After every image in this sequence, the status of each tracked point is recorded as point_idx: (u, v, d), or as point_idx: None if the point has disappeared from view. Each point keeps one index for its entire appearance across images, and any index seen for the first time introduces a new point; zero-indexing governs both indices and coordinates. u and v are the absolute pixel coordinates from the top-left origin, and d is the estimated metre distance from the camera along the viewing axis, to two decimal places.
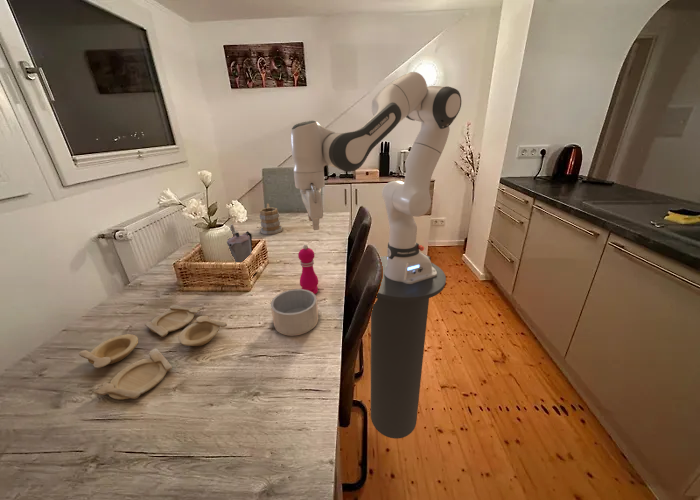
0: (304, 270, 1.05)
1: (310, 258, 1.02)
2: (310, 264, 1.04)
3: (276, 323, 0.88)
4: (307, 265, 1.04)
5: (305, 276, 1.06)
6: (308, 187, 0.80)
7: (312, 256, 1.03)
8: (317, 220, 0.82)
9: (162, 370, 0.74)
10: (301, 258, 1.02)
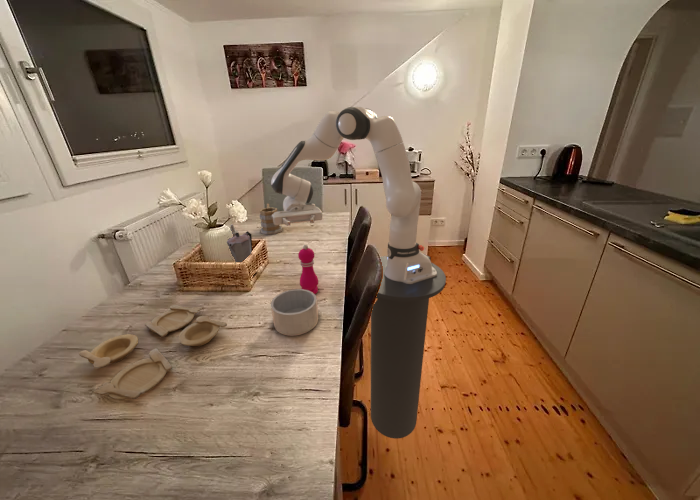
0: (304, 270, 1.05)
1: (310, 258, 1.02)
2: (310, 264, 1.04)
3: (276, 323, 0.88)
4: (307, 265, 1.04)
5: (305, 276, 1.06)
6: None
7: (312, 256, 1.03)
8: (283, 220, 1.11)
9: (162, 370, 0.74)
10: (301, 258, 1.02)
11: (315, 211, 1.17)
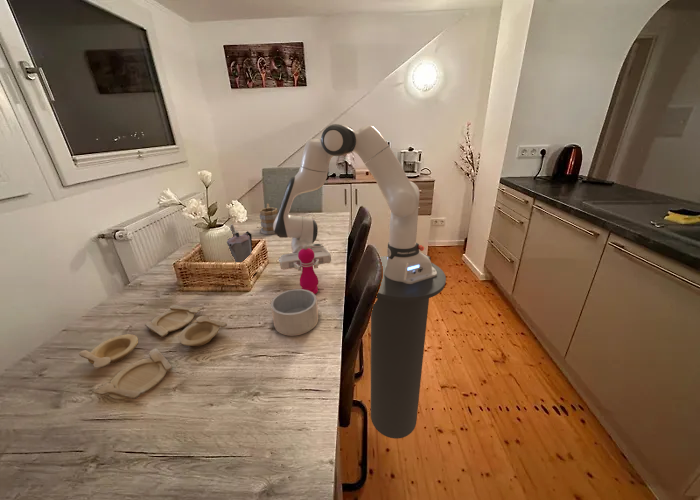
0: (304, 270, 1.05)
1: (310, 258, 1.02)
2: (310, 264, 1.04)
3: (276, 323, 0.88)
4: (307, 265, 1.03)
5: (305, 276, 1.05)
6: None
7: (312, 256, 1.03)
8: (294, 264, 1.07)
9: (162, 370, 0.74)
10: (301, 258, 1.02)
11: (323, 253, 1.12)
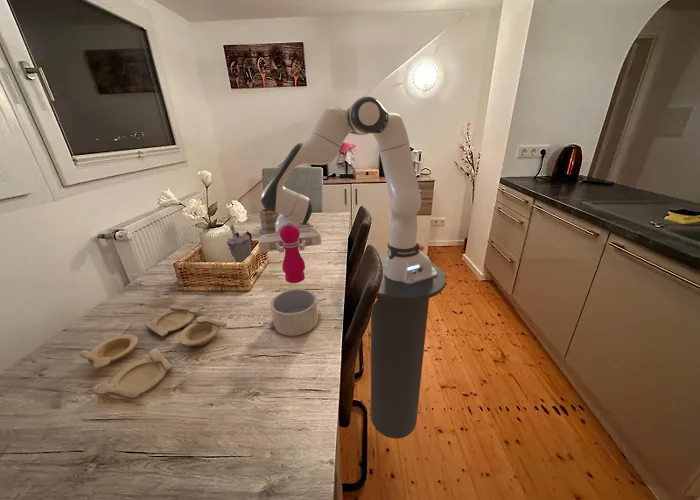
0: (287, 251, 0.87)
1: (294, 237, 0.84)
2: (294, 244, 0.85)
3: (276, 323, 0.88)
4: (290, 246, 0.85)
5: (288, 260, 0.87)
6: None
7: (296, 234, 0.84)
8: (275, 245, 0.89)
9: (162, 370, 0.74)
10: (283, 237, 0.84)
11: (312, 233, 0.94)
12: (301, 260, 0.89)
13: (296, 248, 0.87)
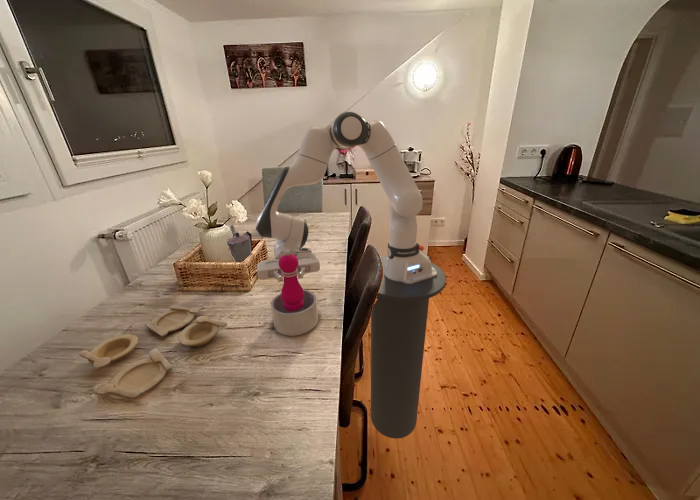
0: (285, 280, 0.86)
1: (293, 267, 0.83)
2: (293, 274, 0.85)
3: (276, 323, 0.88)
4: (289, 275, 0.84)
5: (287, 289, 0.86)
6: None
7: (295, 264, 0.84)
8: (274, 274, 0.88)
9: (162, 370, 0.74)
10: (282, 267, 0.83)
11: (311, 260, 0.93)
12: (300, 288, 0.88)
13: (295, 277, 0.86)
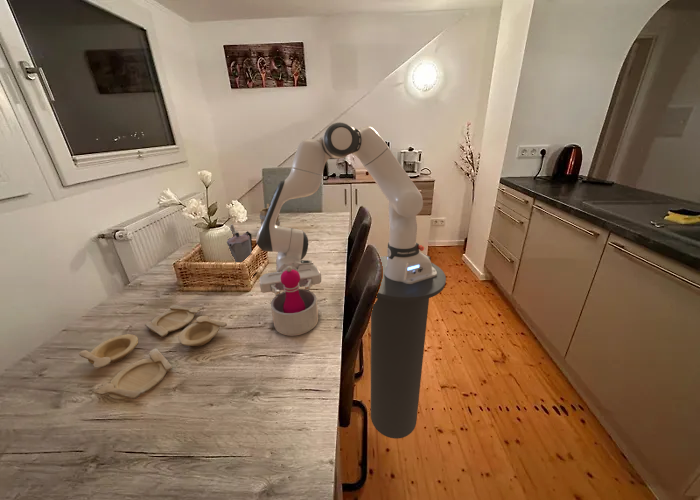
0: (287, 295, 0.88)
1: (294, 282, 0.86)
2: (295, 289, 0.87)
3: (276, 323, 0.88)
4: (291, 290, 0.87)
5: (289, 303, 0.89)
6: None
7: (297, 280, 0.86)
8: (271, 288, 0.90)
9: (162, 370, 0.74)
10: (284, 282, 0.85)
11: (312, 273, 0.95)
12: (301, 302, 0.91)
13: (296, 292, 0.89)
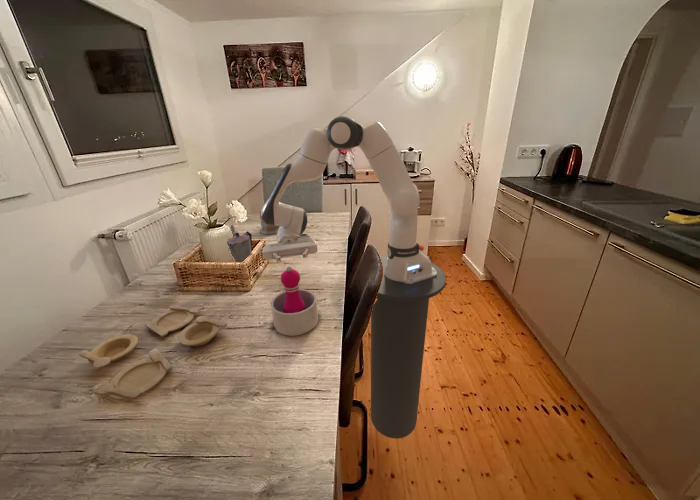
0: (287, 295, 0.88)
1: (294, 282, 0.86)
2: (295, 289, 0.87)
3: (276, 323, 0.88)
4: (291, 290, 0.87)
5: (289, 303, 0.89)
6: None
7: (297, 280, 0.86)
8: (273, 255, 1.02)
9: (162, 370, 0.74)
10: (284, 282, 0.85)
11: (309, 243, 1.07)
12: (301, 302, 0.91)
13: (296, 292, 0.89)
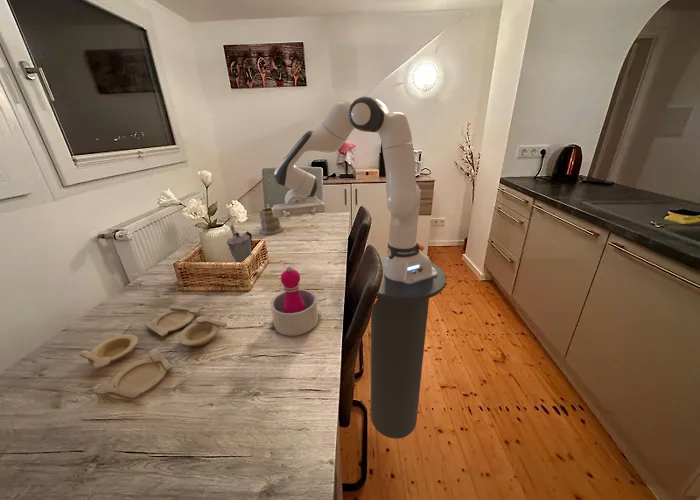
0: (287, 295, 0.88)
1: (294, 282, 0.86)
2: (295, 289, 0.87)
3: (276, 323, 0.88)
4: (291, 290, 0.87)
5: (289, 303, 0.89)
6: None
7: (297, 280, 0.86)
8: (282, 212, 1.05)
9: (162, 370, 0.74)
10: (284, 282, 0.85)
11: (317, 203, 1.11)
12: (301, 302, 0.91)
13: (296, 292, 0.89)
